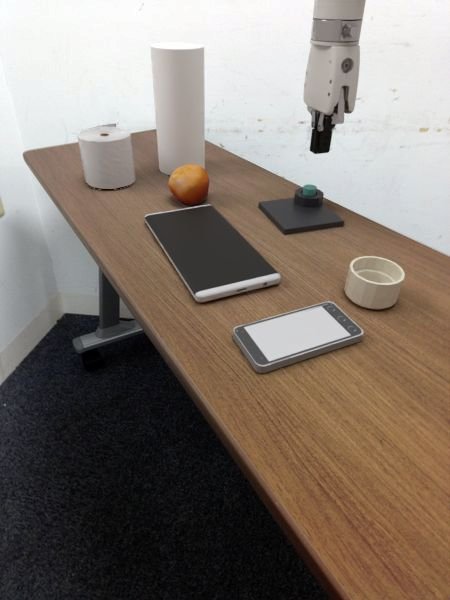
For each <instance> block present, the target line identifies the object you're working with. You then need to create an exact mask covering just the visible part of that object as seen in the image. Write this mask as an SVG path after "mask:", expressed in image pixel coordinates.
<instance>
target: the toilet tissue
mask: <svg viewBox="0 0 450 600" xmlns="http://www.w3.org/2000/svg"><path fill="white" fill-rule="evenodd" d="M76 137H77V143H78V148H79V153H80V157H81V158H80V159H81V164H82V171H83V175H84V181H85V184H86V183H88V184H89V185H91V186H94V187H99V188H119V187H124V186H127V185H130V184H132V183H133V182H134V181H135V182H136V180H135V179H137V177H136V170H135V161H134V160H135V159H134V152H133V151H134V150H133V142H132V139H133V138H132V133H131V131H130V130H129V129H126V128H123V127H117V123H116V122H115V123H109V124H102V125H98V126H97V125H96V126H93V127H90V128H86V129H83V130H81V131H79V132H77V136H76ZM135 182H134V183H135ZM134 183H133V184H134ZM133 184H132V185H133ZM130 186H131V185H130ZM127 187H128V186H127ZM124 188H125V187H124Z"/></svg>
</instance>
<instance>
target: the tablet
mask: <svg viewBox="0 0 450 600" xmlns="http://www.w3.org/2000/svg"><path fill="white" fill-rule="evenodd" d="M144 222H145V223H146V226H147V227H148V228H149V230H150V232H151V234H153V236H154V238H155V239H156V241H157V242H158V244H159V246H160V247H161V248H162V250H163V252H164V253H165V255H166V257H167V259H169V261H170V262H171V264H172V266H173V267H174V269H175V270H176V272H177V274H178V275H179V277H180V279H181V280H182V281H183V283H184V285H185V286H186V288H187V289H188V291H189V293H190V294H191V296H192V297H193V298H194V300H195V301H196V302H198V303H206V302H210V301H213V300H217V299H218V300H219V299H221V298H226V297H229V296H234V295H239V294H241V293H246V292H250V291H254V290H258V289H262V288H266V287H271V286H275V285H279V283H280V282H281V278H282V277H281V274H280V273H279V271H277V270H276V269H275V268H274V267H273V266H272V265H271V263H269V262H268V261H267V260H266V259H265V258H264V257H263V256H262V255H261V253H260V252H258V251H257V249H255V248H254V247H253V245H251V243H250V242H249V241H248V240H247V239H246V238H245V237H244V236H243V235H242V234H241V233H240V232H239V231H238V230H237V229H236V228H235V227H234V226H233V225H232V223H231V222H229V221H228V219H226V218H225V216H223V214H222V213H221V212H220V211H219V210H217V208H215V207H214V206H213V205H212V204H204V205H203V204H202V205H195V206H191V207H184V208H179V209H171V210H166V211H159V212H154V213H148V214H146V215H145V216H144Z"/></svg>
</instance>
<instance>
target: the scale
mask: <svg viewBox="0 0 450 600" xmlns="http://www.w3.org/2000/svg"><path fill="white" fill-rule="evenodd" d="M302 192H303V187H298V188H296V189H295V190H294V196H293V197H287V198H280V199H279V198H278V199H271V200H264V201H263V200H261V201H258V205H257V206H258V207H257V208H258V209H259V210H260V211H261V212H262V213H263V214H264V215H265V217H267V218H268V220H270V222H271V223H272V224H273V225H274V226H275V227H276V228H277V229H278V230H279V231H280V233H282V234H283V235H284V236H287V235H289V236H290V235H295V234H303V233H310V232H315V231H321V230H326V229H327V230H328V229H334V228H341V227H342V228H343V227H344V225H345V219H343V218H342V217H340V216H339V214H337V213H336V212H335V211H334V210H332V209H331V208H330V207H328V206H327V205H326V204H325V203H323V201H324V197H325V196H324V194H325V193H324V192H323V191H322V189H321V190H320V189H318V188H317V191H316V196H306V195H303V194H302Z"/></svg>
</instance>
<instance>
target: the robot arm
mask: <svg viewBox="0 0 450 600" xmlns="http://www.w3.org/2000/svg"><path fill="white" fill-rule="evenodd" d="M366 1H367V0H314V2H313V12H312V21H311V31H310V39H309V44H310V48H309V52H308V56H307V57H308V58H307V63H306V71H305V76H304V85H303V99H302V100H303V103H304V104H305V105H306V110H307V112H308V113H309V114H310V115H311V121H310V122H311V123H310V124H311V125H310V126H311V134H310V135H311V136H310V144H309V151H310V152H311V153H313V154H314V155H319V154H320V155H321V154H327V153H329V152H330V151H331V145H332V137H333V131H335V130H336V125H343V124H344V123H345V114H347V115H350V114H352V113H353V112H354V110H355V107H356V100H357V94H358V86H359V79H360V78H359V77H360V65H361V46H360V38H361V32H362V26H363V20H364V14H365V8H366Z"/></svg>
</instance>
